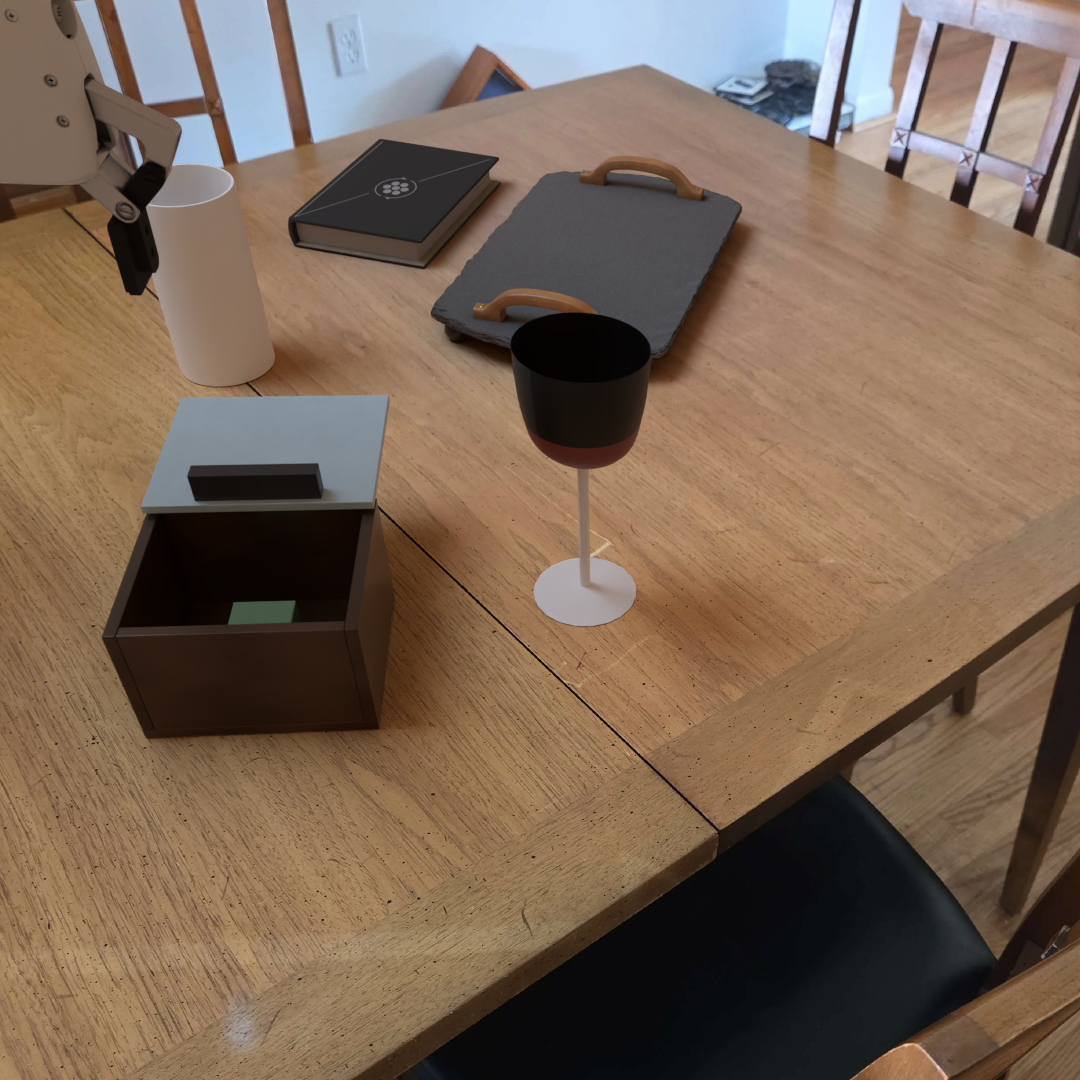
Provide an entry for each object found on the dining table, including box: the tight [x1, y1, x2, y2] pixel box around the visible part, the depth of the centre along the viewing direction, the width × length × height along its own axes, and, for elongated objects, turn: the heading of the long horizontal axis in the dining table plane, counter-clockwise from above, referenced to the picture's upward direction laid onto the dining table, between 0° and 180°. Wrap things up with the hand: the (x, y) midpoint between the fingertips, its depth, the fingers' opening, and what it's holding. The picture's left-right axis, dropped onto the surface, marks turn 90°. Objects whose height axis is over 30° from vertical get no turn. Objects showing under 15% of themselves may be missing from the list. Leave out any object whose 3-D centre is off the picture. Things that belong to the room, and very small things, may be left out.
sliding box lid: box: [140, 394, 391, 515], centre depth 78 cm, size 15×13×3 cm
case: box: [101, 497, 396, 739], centre depth 75 cm, size 15×13×9 cm
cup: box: [146, 163, 276, 388], centre depth 98 cm, size 8×8×16 cm
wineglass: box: [510, 312, 651, 627], centre depth 78 cm, size 8×9×20 cm
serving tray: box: [430, 155, 743, 371], centre depth 115 cm, size 39×23×6 cm, turn 165°
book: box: [287, 138, 502, 269], centre depth 125 cm, size 22×15×3 cm
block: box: [228, 601, 301, 625], centre depth 76 cm, size 4×4×4 cm
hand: (47, 280), depth 62 cm, fingers open, 9 cm apart
